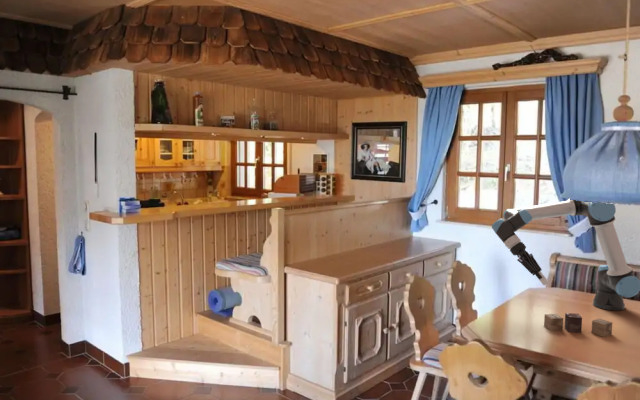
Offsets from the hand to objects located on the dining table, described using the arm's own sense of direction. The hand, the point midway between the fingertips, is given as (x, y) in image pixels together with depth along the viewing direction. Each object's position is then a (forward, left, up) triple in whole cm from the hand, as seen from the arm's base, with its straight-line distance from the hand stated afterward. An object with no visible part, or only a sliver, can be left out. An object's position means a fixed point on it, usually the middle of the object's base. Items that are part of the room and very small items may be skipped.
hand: (546, 283), depth 243 cm
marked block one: (-14, +20, -20) cm, 32 cm away
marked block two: (+2, +7, -20) cm, 21 cm away
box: (-5, +12, -20) cm, 24 cm away
